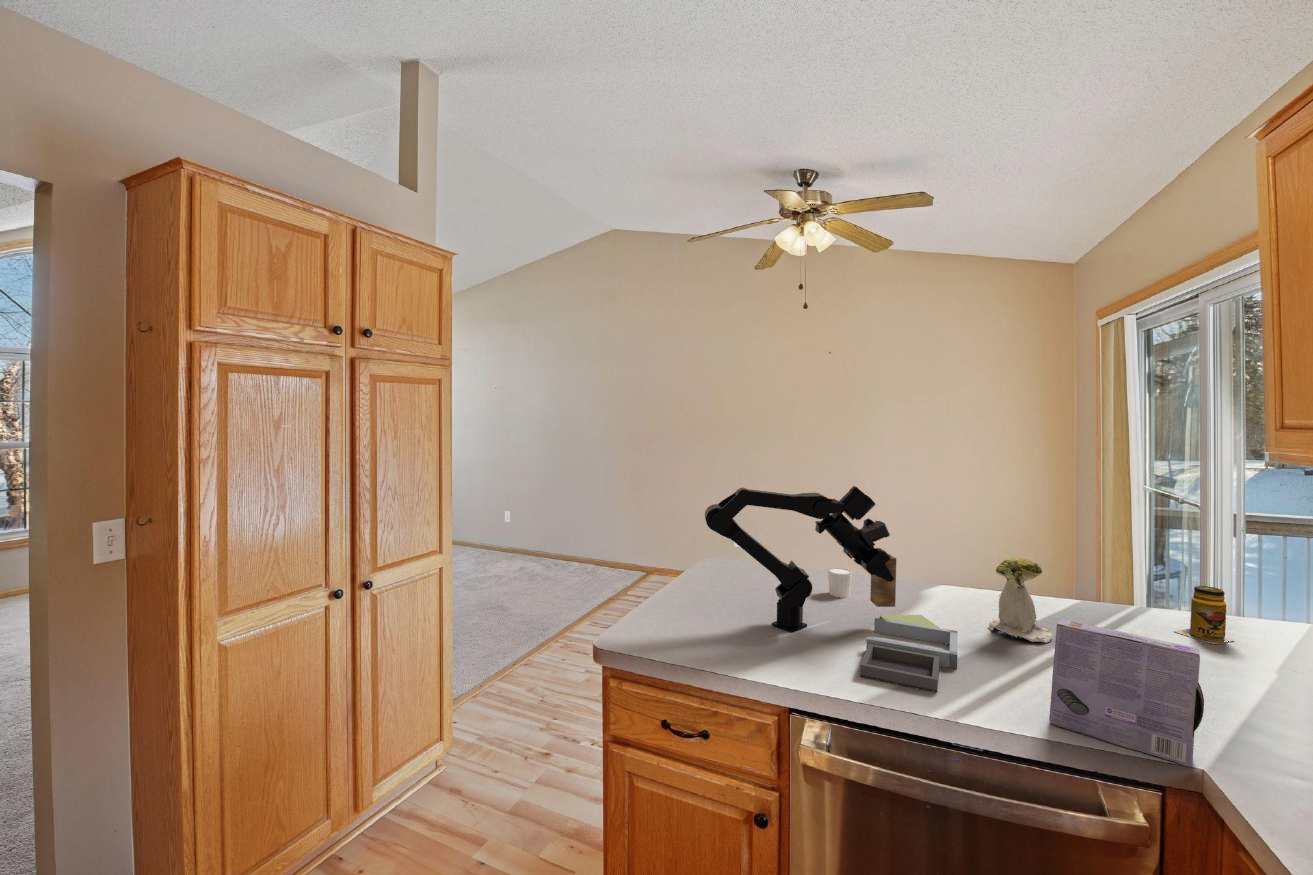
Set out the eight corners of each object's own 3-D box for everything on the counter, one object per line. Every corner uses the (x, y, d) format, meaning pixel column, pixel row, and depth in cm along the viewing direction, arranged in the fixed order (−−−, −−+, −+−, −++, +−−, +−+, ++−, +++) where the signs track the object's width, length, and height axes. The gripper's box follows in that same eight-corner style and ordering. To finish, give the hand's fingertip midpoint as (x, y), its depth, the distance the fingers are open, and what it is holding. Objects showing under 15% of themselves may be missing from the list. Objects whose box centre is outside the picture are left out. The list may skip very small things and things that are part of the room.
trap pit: (860, 676, 117) (860, 664, 117) (868, 654, 127) (868, 643, 127) (937, 692, 110) (937, 679, 110) (939, 668, 121) (939, 656, 121)
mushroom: (1037, 648, 131) (1040, 568, 130) (979, 630, 142) (981, 556, 141) (1060, 637, 138) (1062, 561, 137) (1002, 621, 148) (1004, 550, 148)
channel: (866, 652, 129) (866, 638, 129) (875, 629, 142) (875, 617, 142) (957, 668, 120) (957, 654, 120) (957, 643, 134) (957, 630, 134)
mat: (899, 633, 140) (899, 631, 140) (880, 617, 151) (880, 615, 151) (943, 632, 140) (943, 630, 140) (921, 616, 151) (921, 614, 151)
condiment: (1214, 645, 133) (1216, 594, 133) (1172, 631, 142) (1174, 583, 141) (1235, 641, 136) (1237, 591, 135) (1192, 628, 144) (1194, 581, 143)
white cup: (854, 598, 166) (855, 574, 166) (830, 598, 166) (831, 574, 166) (847, 591, 173) (847, 568, 173) (824, 590, 173) (824, 567, 173)
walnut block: (876, 606, 142) (877, 558, 141) (870, 600, 146) (871, 553, 146) (895, 606, 141) (896, 558, 141) (888, 600, 146) (889, 553, 145)
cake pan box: (1201, 757, 90) (1206, 645, 89) (1202, 772, 86) (1207, 655, 85) (1053, 714, 103) (1056, 616, 102) (1048, 725, 99) (1051, 623, 98)
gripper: (882, 517, 134) (929, 565, 134) (856, 504, 152) (897, 546, 152) (847, 550, 134) (894, 598, 134) (825, 533, 153) (866, 575, 153)
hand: (888, 577), depth 143 cm, fingers closed on walnut block, 4 cm apart
